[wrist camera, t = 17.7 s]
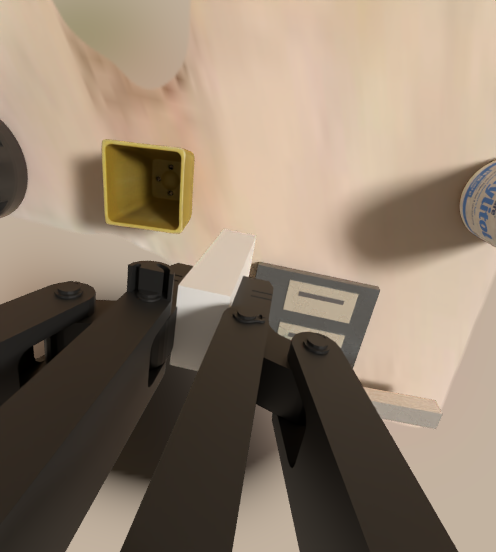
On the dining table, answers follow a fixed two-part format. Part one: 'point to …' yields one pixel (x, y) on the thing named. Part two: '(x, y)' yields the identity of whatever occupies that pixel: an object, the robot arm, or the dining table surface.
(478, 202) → the supplement tub
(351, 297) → the label plate
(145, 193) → the flower pot
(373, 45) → the dining table surface
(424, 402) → the swing bar
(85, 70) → the dining table surface
